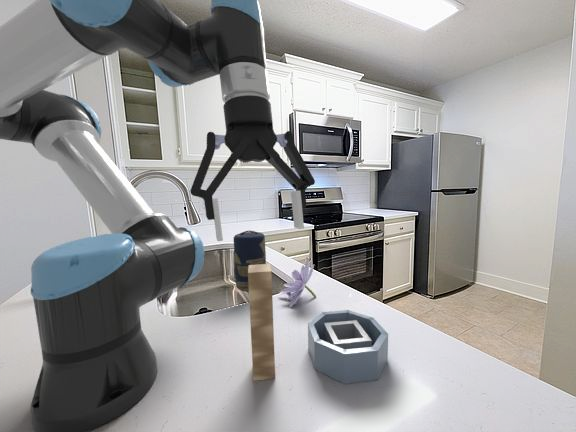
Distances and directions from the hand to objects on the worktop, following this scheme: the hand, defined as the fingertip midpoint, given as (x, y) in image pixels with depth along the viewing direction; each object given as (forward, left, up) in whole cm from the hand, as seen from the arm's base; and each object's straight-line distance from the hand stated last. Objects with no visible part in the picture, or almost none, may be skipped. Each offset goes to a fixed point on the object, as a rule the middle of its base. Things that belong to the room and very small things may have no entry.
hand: (261, 233), depth 41 cm
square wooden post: (0, -2, -23) cm, 23 cm away
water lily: (+10, +24, -23) cm, 35 cm away
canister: (-3, +34, -23) cm, 41 cm away
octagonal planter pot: (+15, 0, -23) cm, 27 cm away
